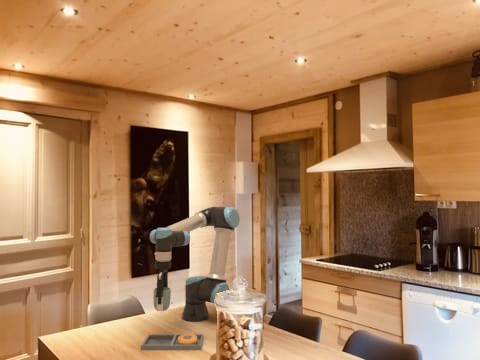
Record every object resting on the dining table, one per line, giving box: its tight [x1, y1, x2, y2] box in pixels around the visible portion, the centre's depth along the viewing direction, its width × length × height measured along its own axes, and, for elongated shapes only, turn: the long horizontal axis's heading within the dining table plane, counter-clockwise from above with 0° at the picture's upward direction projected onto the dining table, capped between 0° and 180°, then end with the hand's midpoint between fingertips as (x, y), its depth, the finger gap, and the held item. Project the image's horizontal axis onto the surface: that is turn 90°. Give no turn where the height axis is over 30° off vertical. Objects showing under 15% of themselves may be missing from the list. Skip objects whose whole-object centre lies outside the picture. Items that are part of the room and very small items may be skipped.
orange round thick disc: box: [178, 333, 197, 345], centre depth 181 cm, size 9×9×3 cm
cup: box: [152, 286, 172, 312], centre depth 184 cm, size 8×8×10 cm
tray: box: [140, 333, 205, 351], centre depth 181 cm, size 27×14×2 cm, turn 90°
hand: (161, 308), depth 184 cm, fingers closed on cup, 8 cm apart
